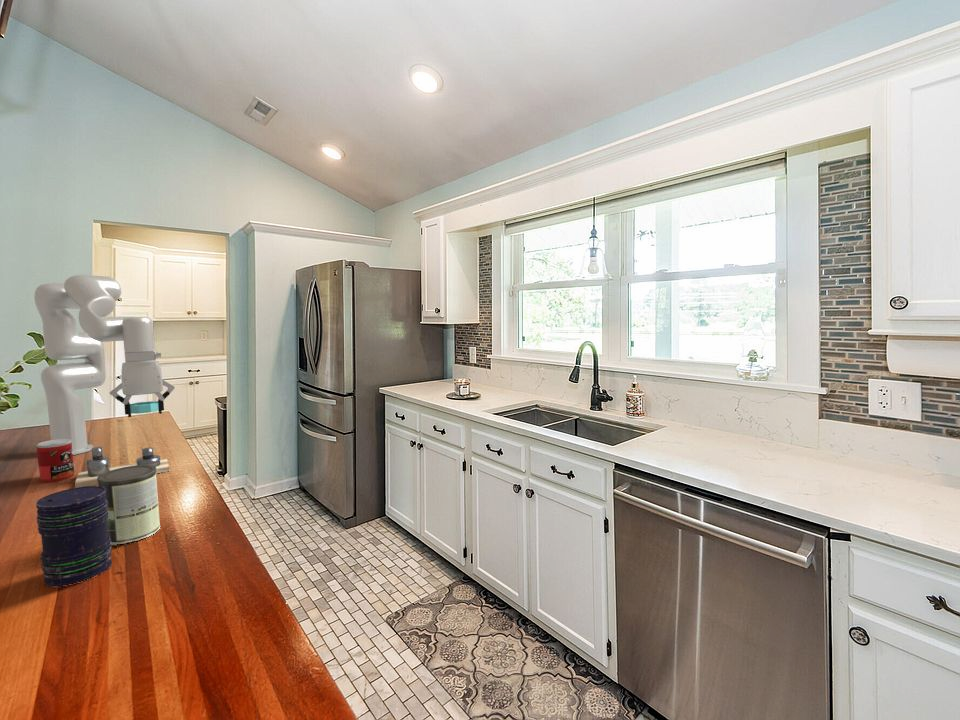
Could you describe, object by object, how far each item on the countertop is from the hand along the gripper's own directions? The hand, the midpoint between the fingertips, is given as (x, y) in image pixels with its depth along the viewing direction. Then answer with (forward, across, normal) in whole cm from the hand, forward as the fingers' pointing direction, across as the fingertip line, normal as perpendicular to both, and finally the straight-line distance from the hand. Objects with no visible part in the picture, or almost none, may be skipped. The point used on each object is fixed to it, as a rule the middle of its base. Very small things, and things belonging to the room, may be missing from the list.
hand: (145, 414), depth 142 cm
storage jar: (+19, +12, +63) cm, 66 cm away
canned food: (+18, +22, -9) cm, 30 cm away
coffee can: (+19, +4, +50) cm, 53 cm away
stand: (+16, +12, 0) cm, 20 cm away
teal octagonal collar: (-1, 0, 0) cm, 1 cm away
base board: (+18, +6, 0) cm, 19 cm away
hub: (+16, 0, 0) cm, 16 cm away
